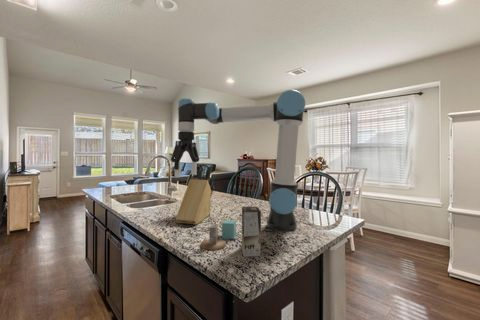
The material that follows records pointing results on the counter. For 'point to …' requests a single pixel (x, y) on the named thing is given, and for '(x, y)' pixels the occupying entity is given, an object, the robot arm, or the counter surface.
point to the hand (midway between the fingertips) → (186, 175)
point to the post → (213, 240)
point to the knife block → (196, 198)
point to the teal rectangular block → (229, 229)
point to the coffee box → (251, 231)
